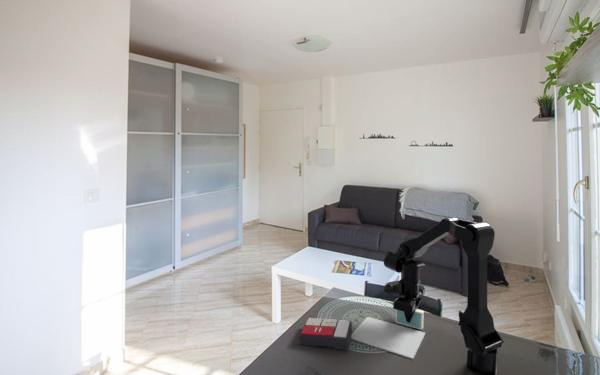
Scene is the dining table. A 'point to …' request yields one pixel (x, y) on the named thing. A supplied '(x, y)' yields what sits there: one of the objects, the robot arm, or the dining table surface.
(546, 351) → the dining table surface
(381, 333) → the mat
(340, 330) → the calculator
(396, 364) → the dining table surface
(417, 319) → the block
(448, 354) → the dining table surface
